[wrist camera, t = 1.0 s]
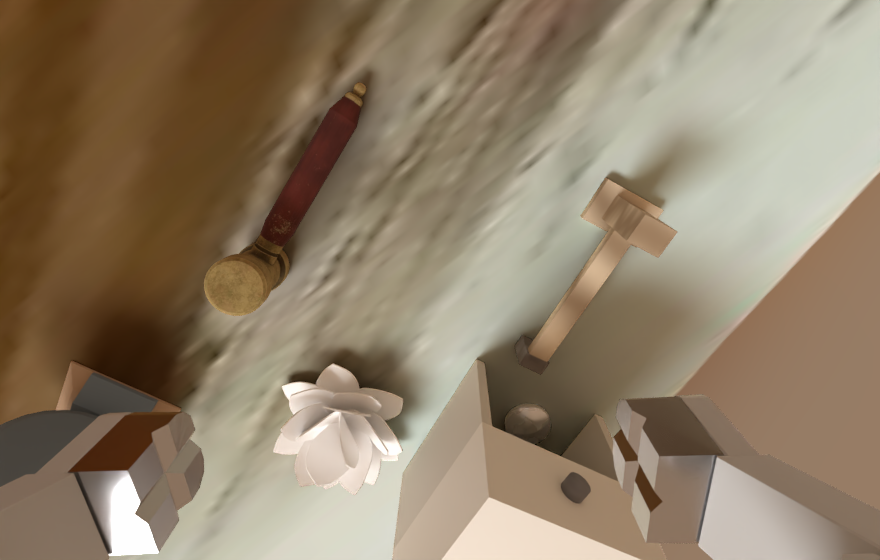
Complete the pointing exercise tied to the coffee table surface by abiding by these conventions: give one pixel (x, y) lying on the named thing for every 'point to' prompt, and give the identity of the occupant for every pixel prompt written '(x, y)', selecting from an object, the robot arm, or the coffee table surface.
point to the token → (528, 422)
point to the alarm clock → (67, 420)
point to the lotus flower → (339, 430)
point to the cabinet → (512, 493)
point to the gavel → (283, 217)
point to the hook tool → (598, 263)
